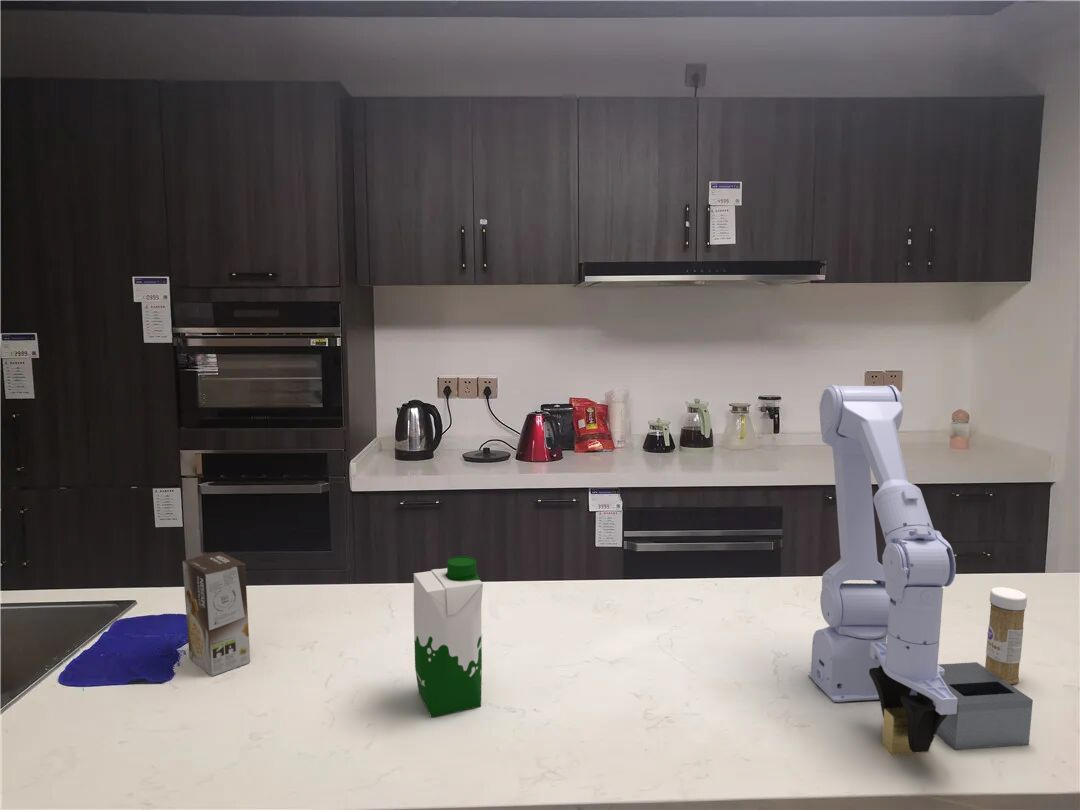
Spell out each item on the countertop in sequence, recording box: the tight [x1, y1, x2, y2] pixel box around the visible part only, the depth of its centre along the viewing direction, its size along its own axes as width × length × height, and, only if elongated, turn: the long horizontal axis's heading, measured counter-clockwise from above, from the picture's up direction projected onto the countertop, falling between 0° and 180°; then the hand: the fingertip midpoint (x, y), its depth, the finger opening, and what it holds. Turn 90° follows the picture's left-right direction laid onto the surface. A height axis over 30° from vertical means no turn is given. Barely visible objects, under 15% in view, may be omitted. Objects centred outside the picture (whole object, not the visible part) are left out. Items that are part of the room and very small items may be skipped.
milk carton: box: [413, 556, 484, 718], centre depth 102 cm, size 9×9×20 cm
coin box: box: [910, 661, 1034, 751], centre depth 96 cm, size 10×10×6 cm
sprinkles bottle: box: [984, 586, 1028, 685], centre depth 108 cm, size 5×5×14 cm
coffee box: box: [182, 551, 251, 677], centre depth 114 cm, size 9×6×16 cm
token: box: [881, 707, 930, 756], centre depth 91 cm, size 5×2×5 cm, turn 96°
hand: (906, 737), depth 91 cm, fingers open, 5 cm apart
